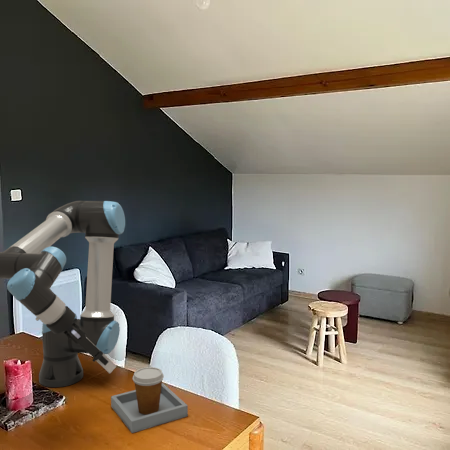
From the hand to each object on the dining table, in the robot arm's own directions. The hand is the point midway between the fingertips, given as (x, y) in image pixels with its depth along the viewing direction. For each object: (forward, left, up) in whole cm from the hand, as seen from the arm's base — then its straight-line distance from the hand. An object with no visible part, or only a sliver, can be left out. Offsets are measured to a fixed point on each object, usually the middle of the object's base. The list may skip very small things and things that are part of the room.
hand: (104, 361), depth 139 cm
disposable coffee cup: (+2, +13, -18) cm, 22 cm away
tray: (+1, +13, -19) cm, 23 cm away
